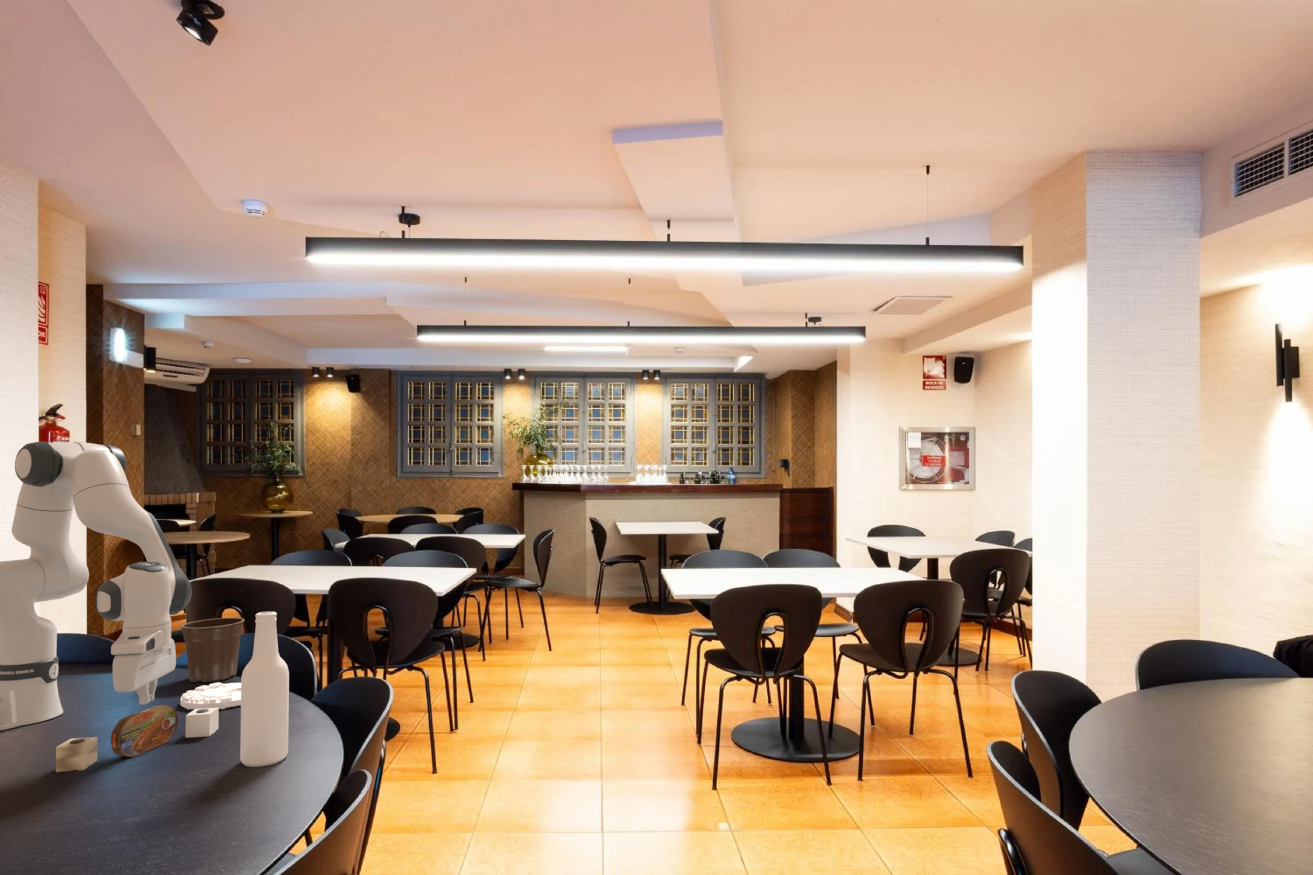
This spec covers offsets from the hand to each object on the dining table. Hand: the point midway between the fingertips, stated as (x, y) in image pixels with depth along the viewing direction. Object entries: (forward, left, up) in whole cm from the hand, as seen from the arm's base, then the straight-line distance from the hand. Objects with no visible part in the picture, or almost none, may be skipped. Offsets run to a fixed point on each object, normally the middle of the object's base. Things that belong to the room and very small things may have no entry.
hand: (146, 702), depth 167 cm
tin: (0, 0, -10) cm, 10 cm away
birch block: (-9, -8, -10) cm, 16 cm away
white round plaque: (+2, +37, -11) cm, 39 cm away
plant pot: (-10, +63, -10) cm, 64 cm away
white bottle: (+28, -12, -10) cm, 32 cm away
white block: (+8, +9, -10) cm, 16 cm away
